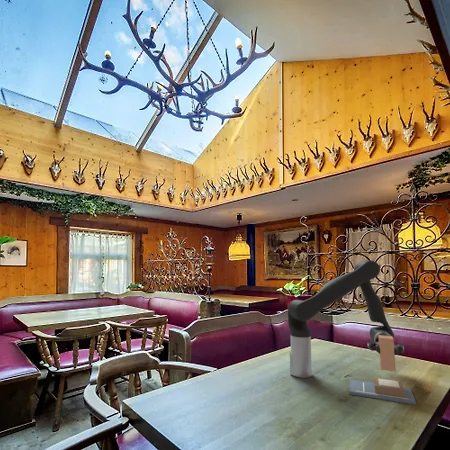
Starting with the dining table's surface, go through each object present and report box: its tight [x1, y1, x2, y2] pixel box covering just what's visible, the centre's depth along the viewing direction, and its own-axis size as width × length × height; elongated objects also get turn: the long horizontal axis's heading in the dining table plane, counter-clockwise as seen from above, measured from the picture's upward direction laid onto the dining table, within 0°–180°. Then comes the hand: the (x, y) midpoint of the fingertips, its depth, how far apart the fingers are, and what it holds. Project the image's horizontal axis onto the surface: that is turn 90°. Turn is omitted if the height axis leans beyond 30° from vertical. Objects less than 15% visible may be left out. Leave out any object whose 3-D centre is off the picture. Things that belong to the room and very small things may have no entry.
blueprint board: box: [349, 377, 417, 406], centre depth 120 cm, size 22×14×4 cm, turn 66°
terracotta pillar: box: [378, 335, 397, 372], centre depth 121 cm, size 5×5×12 cm
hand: (387, 351), depth 119 cm, fingers closed on terracotta pillar, 5 cm apart
